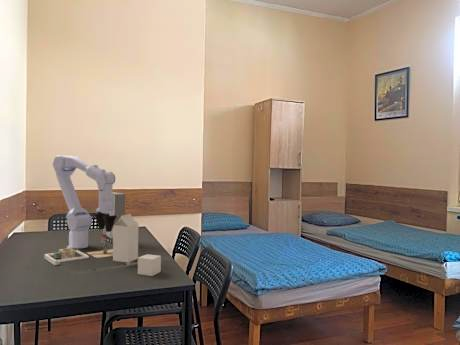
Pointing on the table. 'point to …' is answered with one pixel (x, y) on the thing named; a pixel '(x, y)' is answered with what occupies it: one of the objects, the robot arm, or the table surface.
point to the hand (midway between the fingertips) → (105, 230)
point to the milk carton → (125, 240)
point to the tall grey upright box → (119, 209)
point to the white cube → (149, 264)
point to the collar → (65, 253)
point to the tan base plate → (102, 252)
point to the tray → (56, 262)
